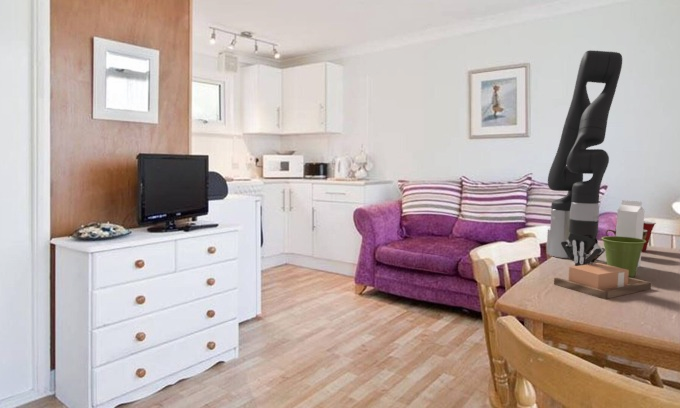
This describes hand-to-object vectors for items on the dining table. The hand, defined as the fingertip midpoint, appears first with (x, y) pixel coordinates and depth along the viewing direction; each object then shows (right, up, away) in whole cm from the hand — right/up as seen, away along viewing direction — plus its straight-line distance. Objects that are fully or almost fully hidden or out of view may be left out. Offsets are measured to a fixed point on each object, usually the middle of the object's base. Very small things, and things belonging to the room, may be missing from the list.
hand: (580, 275), depth 135 cm
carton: (+1, -3, -7) cm, 8 cm away
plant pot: (+17, -1, +7) cm, 18 cm away
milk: (+25, 0, +18) cm, 31 cm away
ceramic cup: (+34, +2, +34) cm, 48 cm away
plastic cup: (+46, +3, +44) cm, 64 cm away
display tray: (+3, -2, -5) cm, 6 cm away
